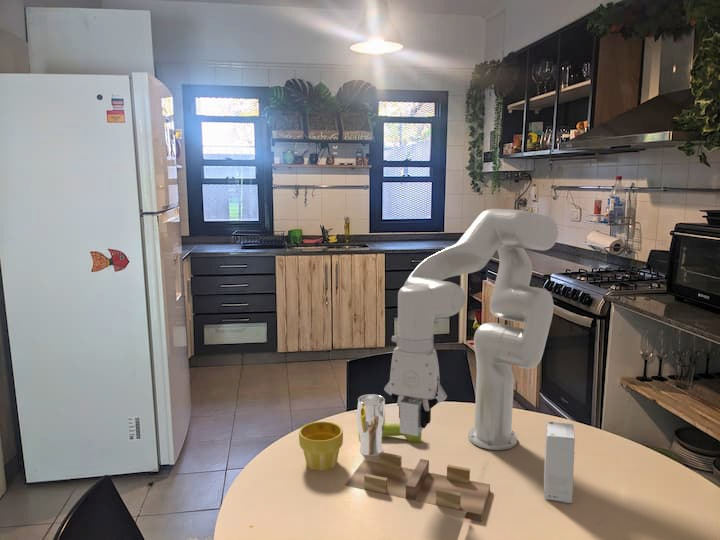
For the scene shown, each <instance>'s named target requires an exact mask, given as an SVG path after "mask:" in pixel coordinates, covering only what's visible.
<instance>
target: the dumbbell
mask: <svg viewBox="0 0 720 540" xmlns="http://www.w3.org/2000/svg"><path fill="white" fill-rule="evenodd" d="M422 431H423V430H422ZM422 431H421V432H420V434H419V435H418V436H414V435H409V434H403V433H400V423H385V426H384V431H383V436H382V437H398V436H403V437H404V438H405V439H406V440H407V441H408V442H411V443H420V442H421V441H422V435H423V434H422ZM358 438H359V440H360V434H359V433H358Z"/></svg>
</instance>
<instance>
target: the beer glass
mask: <svg viewBox="0 0 720 540" xmlns="http://www.w3.org/2000/svg"><path fill="white" fill-rule="evenodd" d="M356 419H357V427H358V428H357V429H358V435H359V434H360V439H359V442H360V445H359V453H360V454H361V455H363V456H366V457H376V456H380V453H381V452H383V450H384V449H383V445H382V444H383V437H384V436H383V431H384V426H385V424H386V399H385V397H383V396H381V395H379V394H374V393H372V394H369V393H368V394H363V395H360V396H359V397H358V398H357V412H356Z"/></svg>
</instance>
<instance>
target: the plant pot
mask: <svg viewBox="0 0 720 540" xmlns="http://www.w3.org/2000/svg"><path fill="white" fill-rule="evenodd" d="M343 441H344V431H343V428H342V427H341V426H340V424H337V423H334V422H331V421H324V420H323V421H314V422H309V423H306V424H304V425H303V426H302V427H301V428H300V429H299V430H298V442H299V447H300V448H301V449H302V451H303V455H304V459H305V463H306V466H307V467H308V468H309V469H311V470H314V471H328V470H331V469H333V468H335V466H337V462H338V458H339V453H340V448H341V447H343Z"/></svg>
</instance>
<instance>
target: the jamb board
mask: <svg viewBox="0 0 720 540" xmlns="http://www.w3.org/2000/svg"><path fill="white" fill-rule="evenodd" d="M402 461H403V460H402V455H400V454H399V455H398V454H394V453H393V454H392V453H388V452H383V451H382V452H381V453H380V455H379V462H378V461H377V462H376V461H374V460H373V461H372V460H366V459H363V461H362V462H361V463H360V464H359V466H358V467H357V469H356V470H355V471H354V472H353V474H352V475H351V476H350V478H349V479H348V480H347V481H346V482H345V484H344V486H347V487H351V488H354V489H360V490H364V491H369V492H374V493H379V494H384V495H388V496H392V497H398V498H401V499H406V500H410V501H415V502H420V503H425V504H430V505H434V506H439V507H444V508H449V509H452V510H458V511H463V512H465V514H464V519H469V520H472V521H473V520H474V521H478V522H482V520H483V516H484V512H485V509H486V506H487V503H488V500H489V498H488V497H489V495H490V492H491V491H490V490H491V484H490V483H484V482H479V481H474V480H471V476H470V475H471V468H468V467H464V466H463V467H462V466H457V465H453V464H452V465H451V464H447V465H446V475H443V474H437V473H434V472H429V471H430V470H429V469H430V461H429V460H428V459H423V458H420V459H419V460H418V463H417V464H416V466H415V468H414V469H412V468H408V467H402Z"/></svg>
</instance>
